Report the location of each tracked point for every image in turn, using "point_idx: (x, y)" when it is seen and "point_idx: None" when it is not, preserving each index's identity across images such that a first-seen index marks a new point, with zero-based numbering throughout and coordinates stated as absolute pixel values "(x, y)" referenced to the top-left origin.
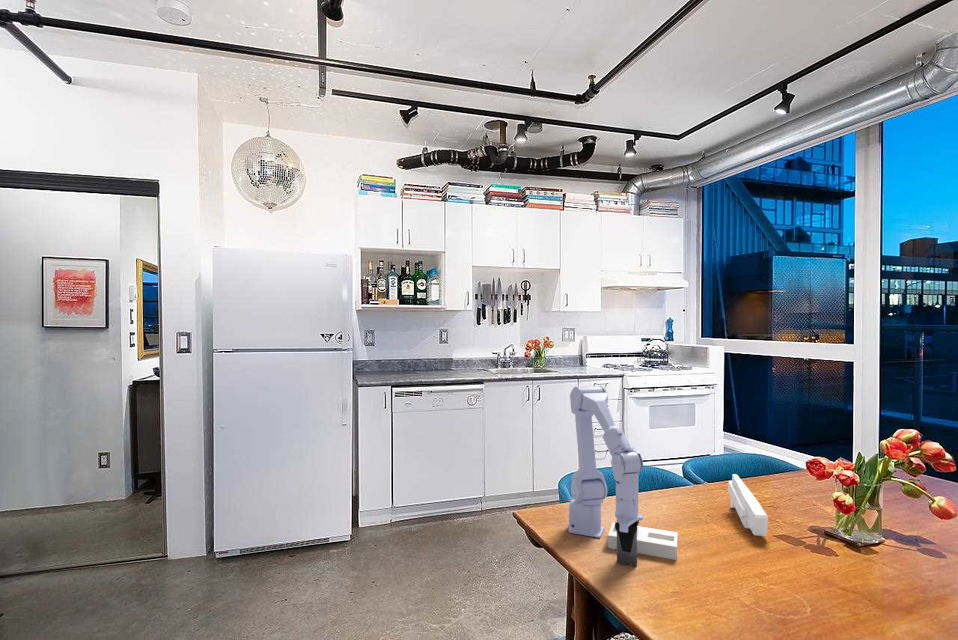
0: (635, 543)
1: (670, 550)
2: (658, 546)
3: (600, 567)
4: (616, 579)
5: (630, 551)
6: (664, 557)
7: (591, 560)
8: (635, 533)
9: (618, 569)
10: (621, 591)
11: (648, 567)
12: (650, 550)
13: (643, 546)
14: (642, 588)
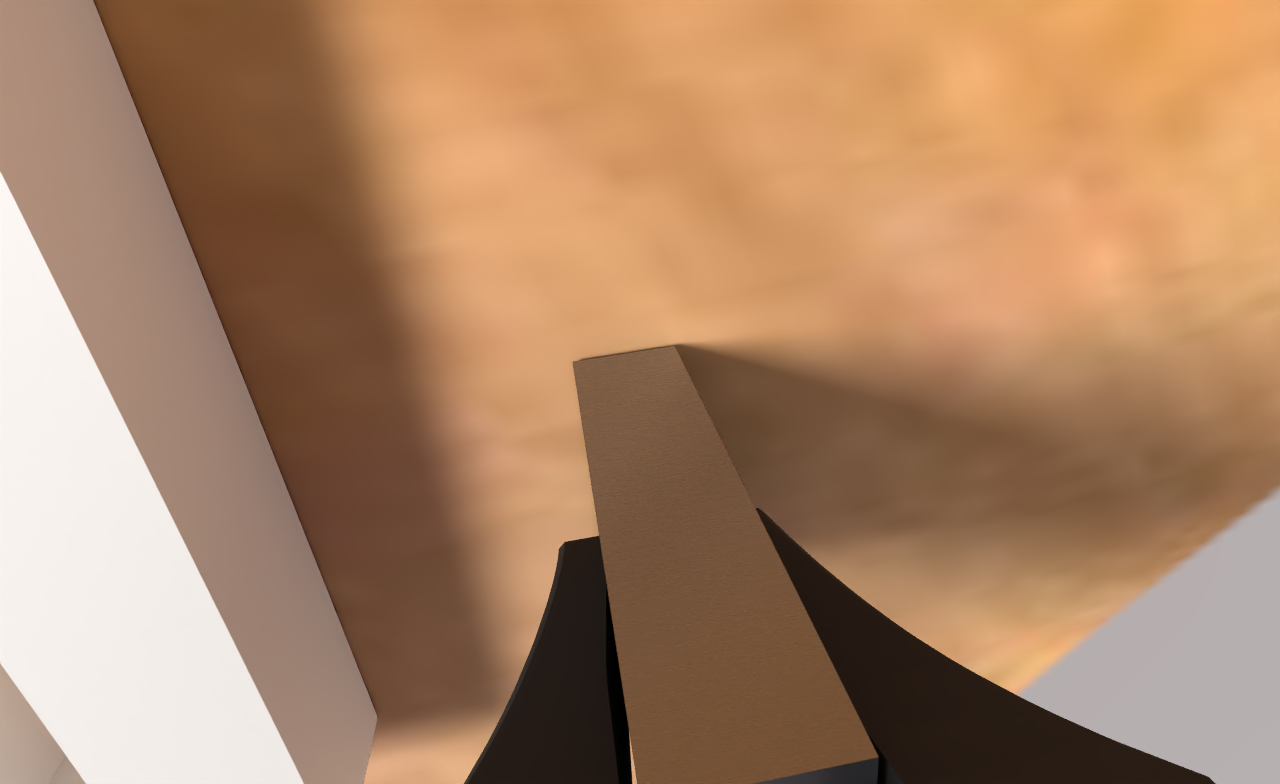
0: (764, 543)
1: None
2: (36, 158)
3: None
4: (1053, 442)
5: (764, 516)
6: (100, 22)
7: None
8: (853, 719)
9: (833, 488)
10: (1277, 337)
11: (613, 202)
12: (159, 283)
13: (187, 410)
14: (1187, 153)
